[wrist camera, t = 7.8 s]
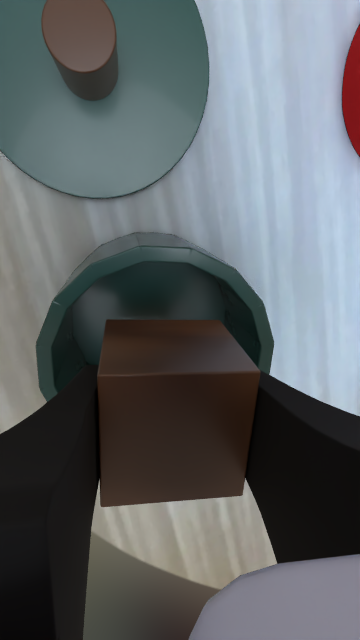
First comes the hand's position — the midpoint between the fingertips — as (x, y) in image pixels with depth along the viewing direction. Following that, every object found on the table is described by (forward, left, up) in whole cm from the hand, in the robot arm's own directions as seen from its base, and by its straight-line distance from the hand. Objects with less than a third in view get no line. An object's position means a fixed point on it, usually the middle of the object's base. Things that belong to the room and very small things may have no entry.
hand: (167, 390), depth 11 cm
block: (0, 0, -1) cm, 1 cm away
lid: (-3, +11, -8) cm, 14 cm away
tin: (0, 0, -9) cm, 9 cm away
